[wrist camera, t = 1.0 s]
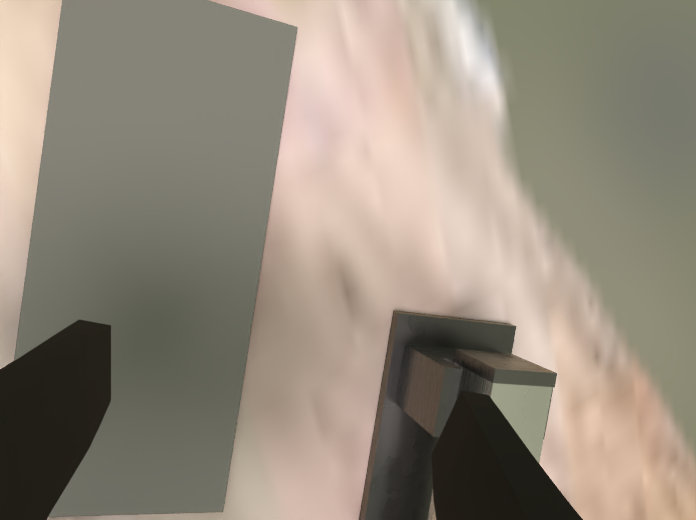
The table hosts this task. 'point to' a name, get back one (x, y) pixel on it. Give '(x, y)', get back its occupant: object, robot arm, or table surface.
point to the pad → (157, 233)
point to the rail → (509, 393)
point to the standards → (419, 407)
